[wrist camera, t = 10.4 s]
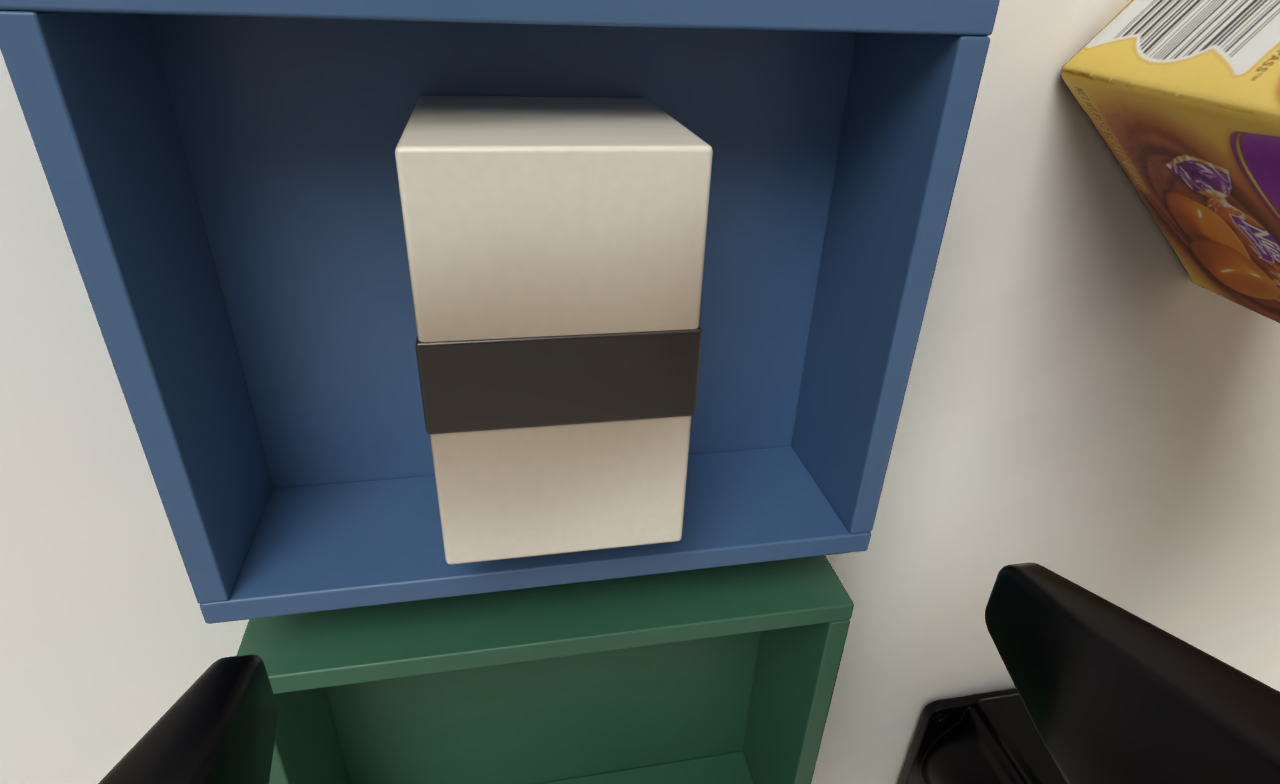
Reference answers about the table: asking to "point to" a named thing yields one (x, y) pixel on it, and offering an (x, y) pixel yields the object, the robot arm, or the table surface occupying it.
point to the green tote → (564, 682)
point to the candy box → (1197, 132)
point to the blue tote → (380, 278)
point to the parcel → (555, 316)
